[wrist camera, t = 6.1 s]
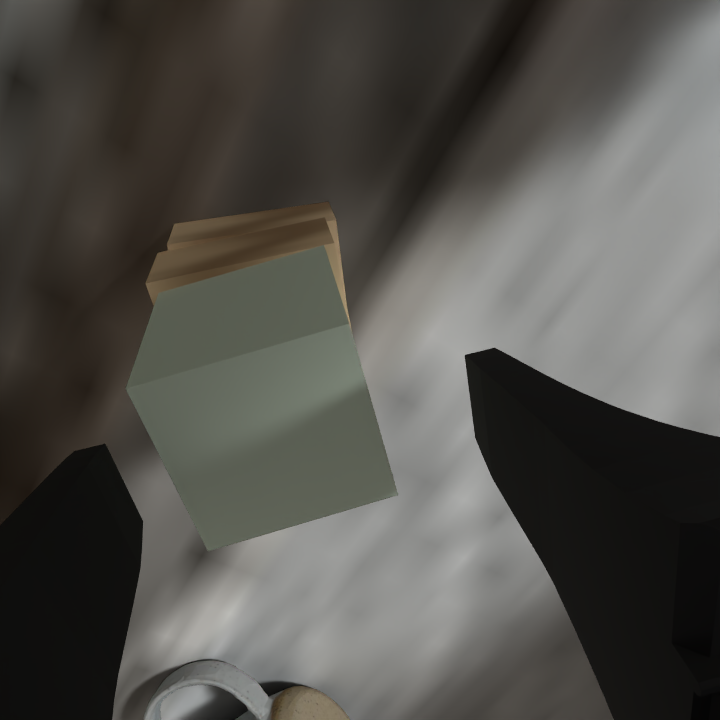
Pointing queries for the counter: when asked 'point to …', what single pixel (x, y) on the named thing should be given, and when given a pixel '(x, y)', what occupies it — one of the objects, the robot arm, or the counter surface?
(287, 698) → the ceramic mug
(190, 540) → the counter surface
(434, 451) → the counter surface
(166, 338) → the sage block
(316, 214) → the slab lower
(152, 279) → the slab upper
